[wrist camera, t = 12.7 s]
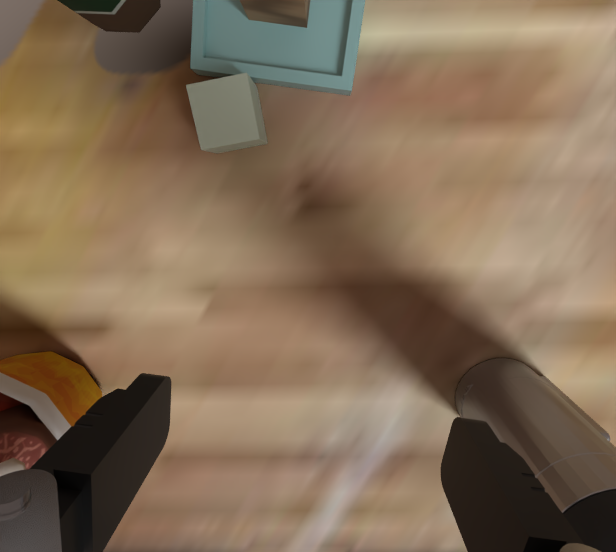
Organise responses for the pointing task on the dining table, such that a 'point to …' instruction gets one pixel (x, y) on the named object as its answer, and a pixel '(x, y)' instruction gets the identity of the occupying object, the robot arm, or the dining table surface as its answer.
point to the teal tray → (279, 45)
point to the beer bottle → (115, 13)
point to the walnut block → (278, 11)
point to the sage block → (227, 113)
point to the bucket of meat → (39, 405)
